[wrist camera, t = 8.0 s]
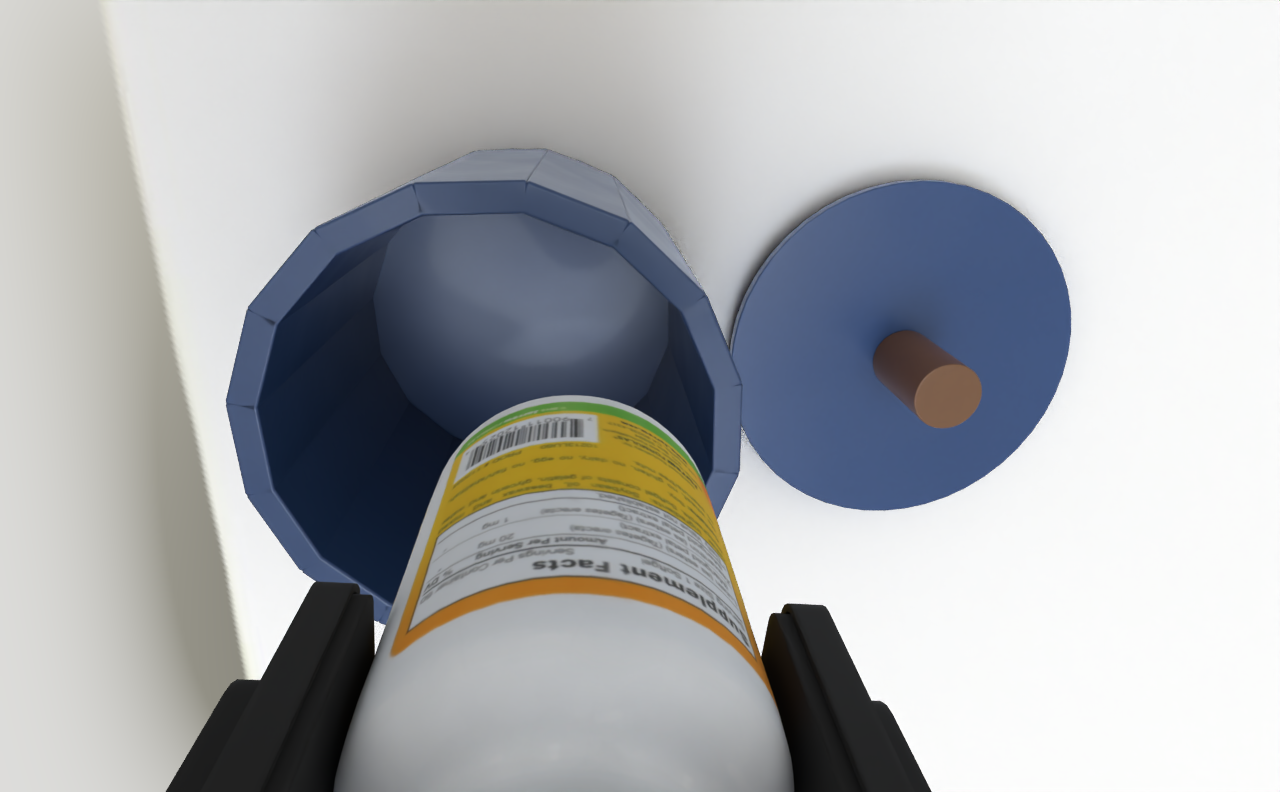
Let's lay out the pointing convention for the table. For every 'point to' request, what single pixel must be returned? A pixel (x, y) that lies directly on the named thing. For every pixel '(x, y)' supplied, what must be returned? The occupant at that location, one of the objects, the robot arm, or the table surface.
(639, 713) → the supplement bottle
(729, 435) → the tin
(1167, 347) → the table surface
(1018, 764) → the table surface
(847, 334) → the tin lid
